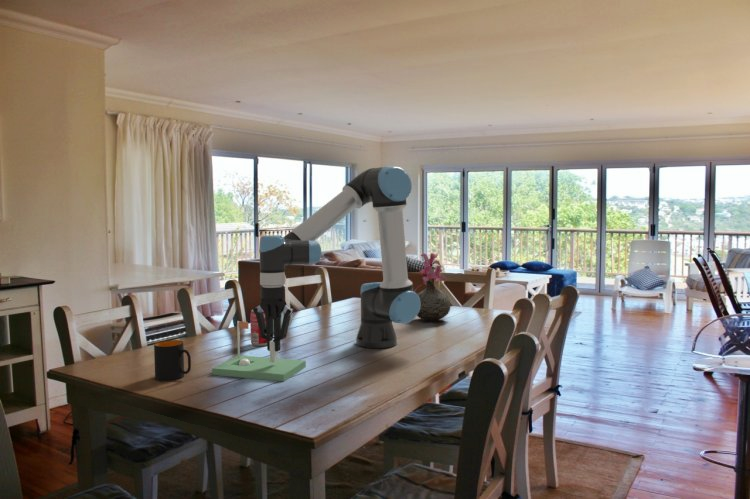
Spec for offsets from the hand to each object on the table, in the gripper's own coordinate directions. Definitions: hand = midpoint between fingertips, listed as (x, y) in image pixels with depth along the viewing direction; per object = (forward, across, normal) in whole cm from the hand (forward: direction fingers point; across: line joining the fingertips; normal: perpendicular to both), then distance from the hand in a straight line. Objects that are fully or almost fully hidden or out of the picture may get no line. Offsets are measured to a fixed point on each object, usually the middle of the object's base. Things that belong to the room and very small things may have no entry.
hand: (274, 361), depth 180 cm
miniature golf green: (+3, +5, 0) cm, 6 cm away
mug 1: (+4, +26, +14) cm, 30 cm away
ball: (+3, +8, +1) cm, 9 cm away
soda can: (+4, +21, -31) cm, 37 cm away
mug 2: (+4, +25, -53) cm, 58 cm away
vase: (+4, -31, -92) cm, 97 cm away
